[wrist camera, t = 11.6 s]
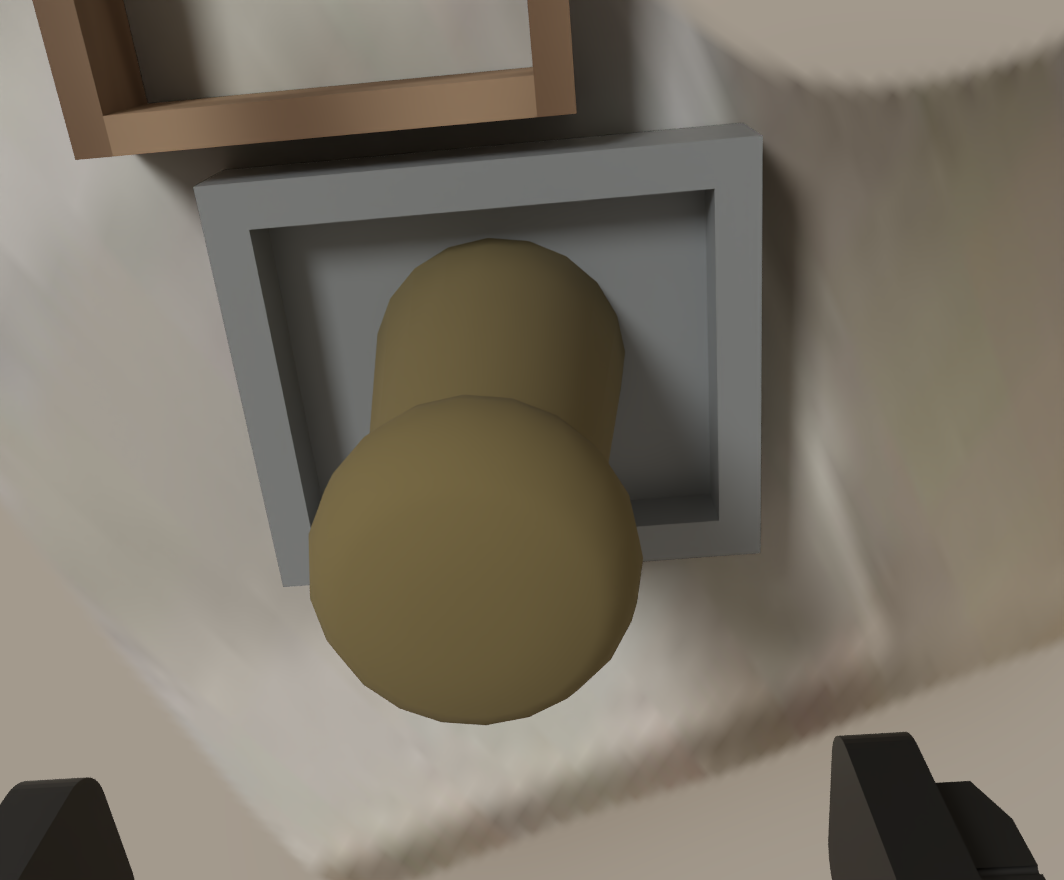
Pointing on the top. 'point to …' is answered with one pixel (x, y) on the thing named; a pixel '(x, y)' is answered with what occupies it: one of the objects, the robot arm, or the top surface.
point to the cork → (483, 493)
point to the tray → (517, 214)
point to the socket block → (138, 127)
